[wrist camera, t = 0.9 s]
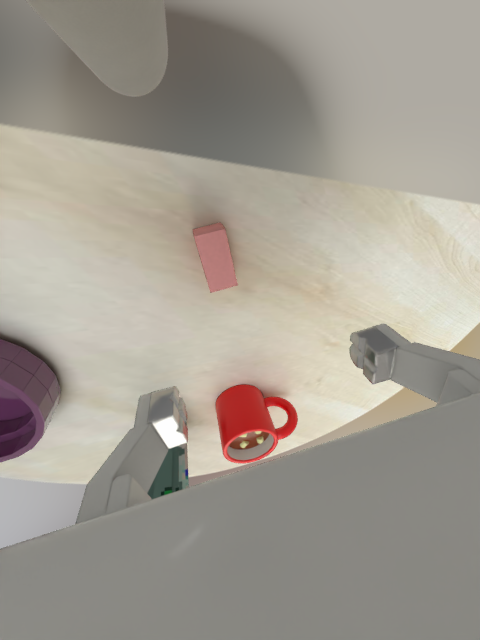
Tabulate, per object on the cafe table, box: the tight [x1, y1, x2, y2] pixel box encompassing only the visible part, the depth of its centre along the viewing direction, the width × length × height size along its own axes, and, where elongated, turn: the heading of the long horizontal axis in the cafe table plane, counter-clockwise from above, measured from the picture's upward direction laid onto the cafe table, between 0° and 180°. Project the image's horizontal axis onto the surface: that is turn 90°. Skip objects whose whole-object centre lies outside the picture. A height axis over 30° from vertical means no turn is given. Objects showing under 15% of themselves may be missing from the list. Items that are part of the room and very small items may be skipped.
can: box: [147, 422, 189, 499], centre depth 34 cm, size 6×6×15 cm
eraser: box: [193, 222, 238, 293], centre depth 26 cm, size 6×3×3 cm, turn 11°
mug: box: [216, 385, 298, 463], centre depth 38 cm, size 8×12×8 cm, turn 97°
